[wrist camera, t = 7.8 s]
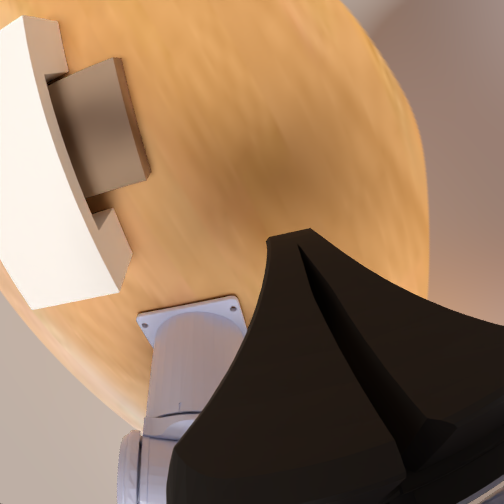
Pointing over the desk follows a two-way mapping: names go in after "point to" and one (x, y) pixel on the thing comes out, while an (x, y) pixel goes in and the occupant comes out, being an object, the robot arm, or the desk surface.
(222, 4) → the desk surface
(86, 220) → the white shelf
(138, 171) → the walnut panel
